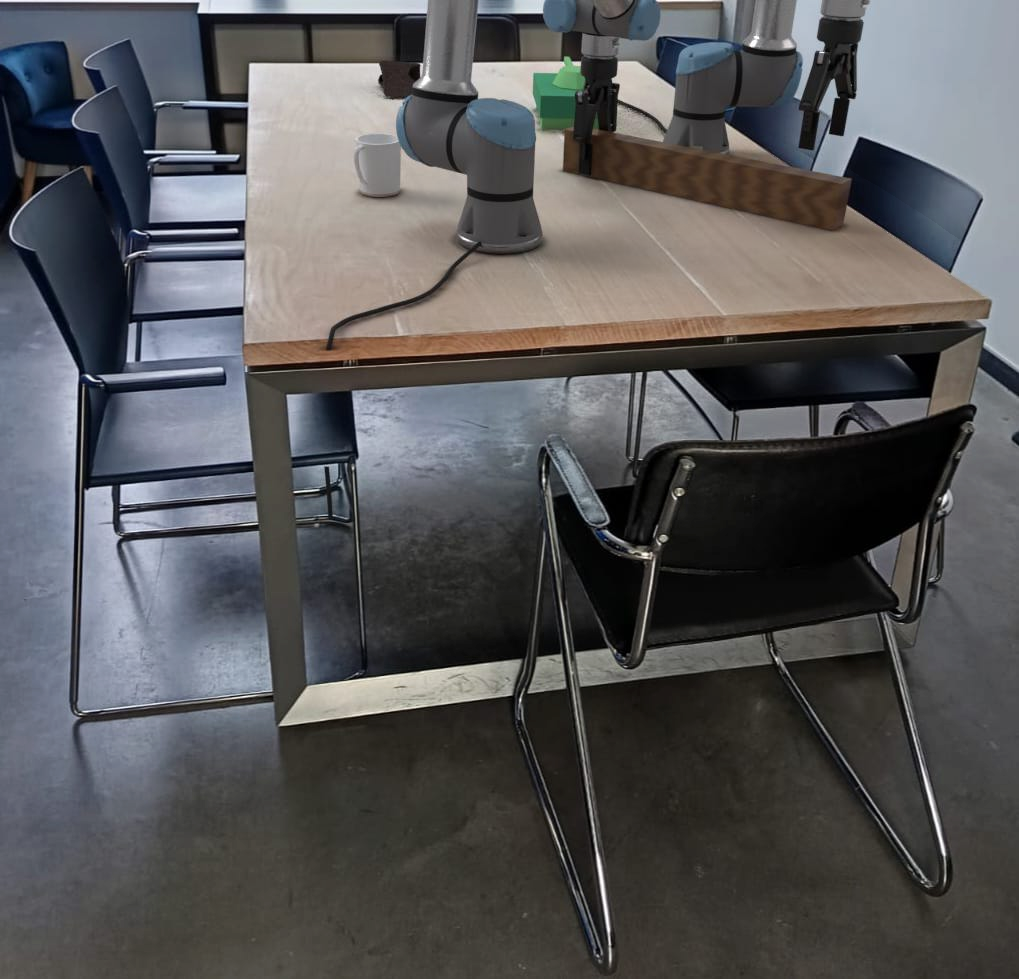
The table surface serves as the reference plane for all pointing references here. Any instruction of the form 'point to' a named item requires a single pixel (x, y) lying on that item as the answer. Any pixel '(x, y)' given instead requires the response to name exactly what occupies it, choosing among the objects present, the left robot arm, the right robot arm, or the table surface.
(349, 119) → the table surface
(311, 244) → the table surface
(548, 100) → the green tank
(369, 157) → the mug
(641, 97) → the table surface
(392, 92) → the axe head
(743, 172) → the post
